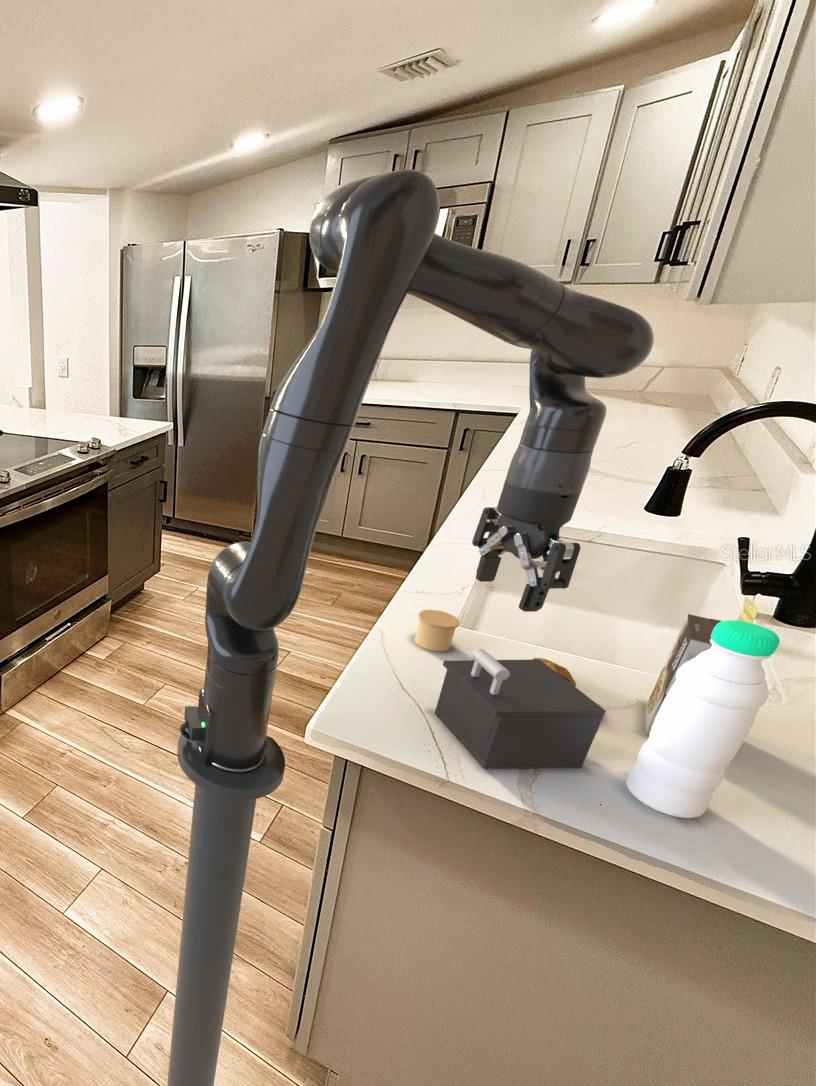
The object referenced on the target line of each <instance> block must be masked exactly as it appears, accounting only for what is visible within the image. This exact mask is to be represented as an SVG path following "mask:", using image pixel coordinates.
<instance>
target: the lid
mask: <svg viewBox="0 0 816 1086" xmlns="http://www.w3.org/2000/svg"><path fill="white" fill-rule="evenodd" d="M471 658H472V659H473V660H472V659H471V660H470V659H468V660H443V662H442V666H443V667H444V668H445V669H446V671H447V670H448V671H449V672H450V673H451V674H452V675H453V676H454V677H455V678H456V679H457V680H458V681H459V682H460V683H461V684H462V685H463V686H464V687H466V688H467V689H468V690H469V691H470V692H471V693H472V694H473V695H474V696H475V697H476V698H477V699H478V700H479V701H480V702H481V703H482V704H483V705H484V706H485V707H486V708H487V709H488V710H489V711H490V712H491V713H492V714H493V715H494V716H495V717H520V716H603V717H604V716H606V715H605V714H606V712H607V710H606V709H604V708H603V707H602V706H601V705H599V704H598V703H596V701H594V700H593V699H592V698H590V697H589V696H587V695H586V694H585V693H584V692H583V691H582V690H580V689H579V688H578V687H575V686H573V685H572V684H571V683H569V682H568V681H567V680H566V679H564V678H563V677H562V676H560V675H559V674H558V673H557V672H555V671H554V670H553V669H551V668H550V667H549V666H548V665H546V664H545V663H544V662H542V661H541V660H540V659H534V658H532V659H496V658H494V657H493V656H492V655H491V654H490V653H488V652H487V651H486V650H485V649H483V648H477V649H475V650H474V651H472V653H471Z"/></svg>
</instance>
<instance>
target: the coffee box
mask: <svg viewBox="0 0 816 1086" xmlns="http://www.w3.org/2000/svg"><path fill="white" fill-rule="evenodd" d="M721 621H722V620H720V619H715V618H708V617H704V616H699V615H695V614H694V615H693V614H690V613H688V614H687V615H686V617H685V619H684V622H683V624H682V626H681V627H680V630H679V632H678V634H677V635H676V639H675V641H674V643H673V645H672V648H671V650H670V652H669V654H668V656H667V659H666V660H665V663H664V665H663V667H662V670H661V671H660V674H659V676H658V678H657V680H656V683H655V686H654V687H653V689H652V692H651V694H650V696H649V698H648V700H647V703H646V705H645V731H644V733H645V735H647V736H649V734H650V731H651V728H652V726H653V723H654V721H655V718H656V716H657V714H658V712H659V709H660V707H661V705H662V703H663V701H664V699H665V697H666V696H667V694H668V692H669V690H670V689H671V687H672V686H673V684H674V683H675V681H676V673H677V671H678V669H679V668H680V667H681V666H682V665H683V664H685V663H686V662H688V661H690V660H691V659H693V658H696V656H697V655H699V654H700V653H702V652H704V651H707V650H709V649H710V648H711V647H712V644H711V642H710V639H711V634H712V631H713V629H714V628H715V626H716V625H717V624H718V623H719V622H721Z"/></svg>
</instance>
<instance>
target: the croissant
mask: <svg viewBox="0 0 816 1086" xmlns="http://www.w3.org/2000/svg"><path fill="white" fill-rule="evenodd" d="M533 659H540V660H541V661H542V662H544V663H545V664H546V665H548V666H549V667H550V668H551V669H553V670H554V671H555V672H557V673H558V674H559V675H560V676H562V677H563V678H564V679H566V680H567V681H568V682H569V683H571V684H572V685H573V686H575V687H576V686H577V683H576V680H575V679H574V677H573V676H572V673H571V672H570V670H568V669H567V667H565V666H562V665H560V664H558V663H556V662H553V661H552V660H549V659H546V658H543V657H533ZM576 688H577V687H576Z"/></svg>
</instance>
